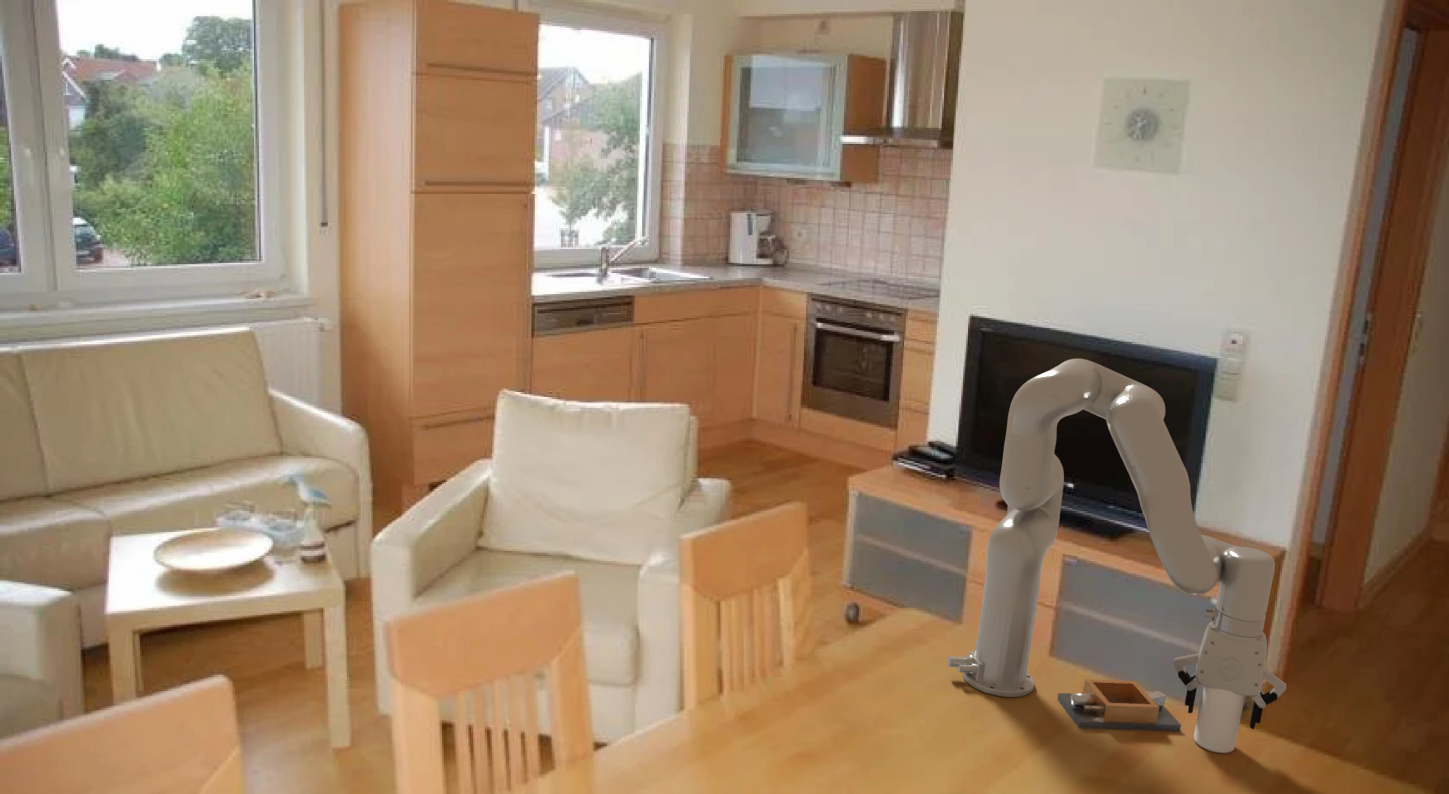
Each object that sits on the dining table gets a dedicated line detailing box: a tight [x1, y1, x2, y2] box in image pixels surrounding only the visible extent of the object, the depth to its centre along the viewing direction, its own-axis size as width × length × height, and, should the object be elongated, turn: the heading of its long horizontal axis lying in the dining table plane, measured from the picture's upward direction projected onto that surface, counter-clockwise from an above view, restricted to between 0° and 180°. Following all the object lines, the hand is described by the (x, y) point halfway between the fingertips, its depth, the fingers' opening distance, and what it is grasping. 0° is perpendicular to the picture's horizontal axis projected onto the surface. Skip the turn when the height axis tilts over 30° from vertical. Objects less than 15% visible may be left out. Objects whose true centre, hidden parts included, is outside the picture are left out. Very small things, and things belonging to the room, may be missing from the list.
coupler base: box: [1057, 678, 1182, 732], centre depth 203 cm, size 18×10×4 cm, turn 95°
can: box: [1193, 685, 1246, 754], centre depth 195 cm, size 6×6×12 cm
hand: (1221, 717), depth 195 cm, fingers open, 9 cm apart
